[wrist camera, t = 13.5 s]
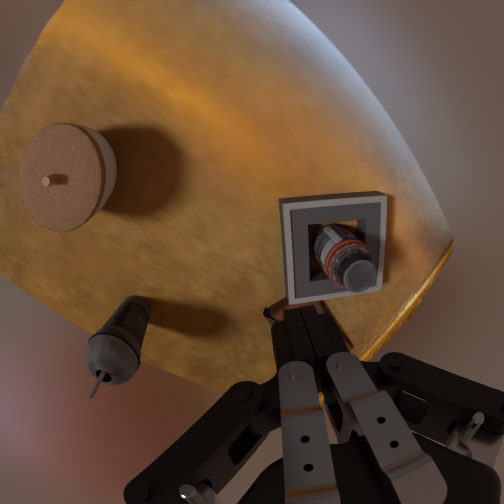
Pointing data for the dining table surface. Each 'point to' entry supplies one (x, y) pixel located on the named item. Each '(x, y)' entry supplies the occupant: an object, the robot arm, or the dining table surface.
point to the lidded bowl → (66, 175)
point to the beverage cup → (118, 344)
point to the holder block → (324, 211)
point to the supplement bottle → (344, 258)
